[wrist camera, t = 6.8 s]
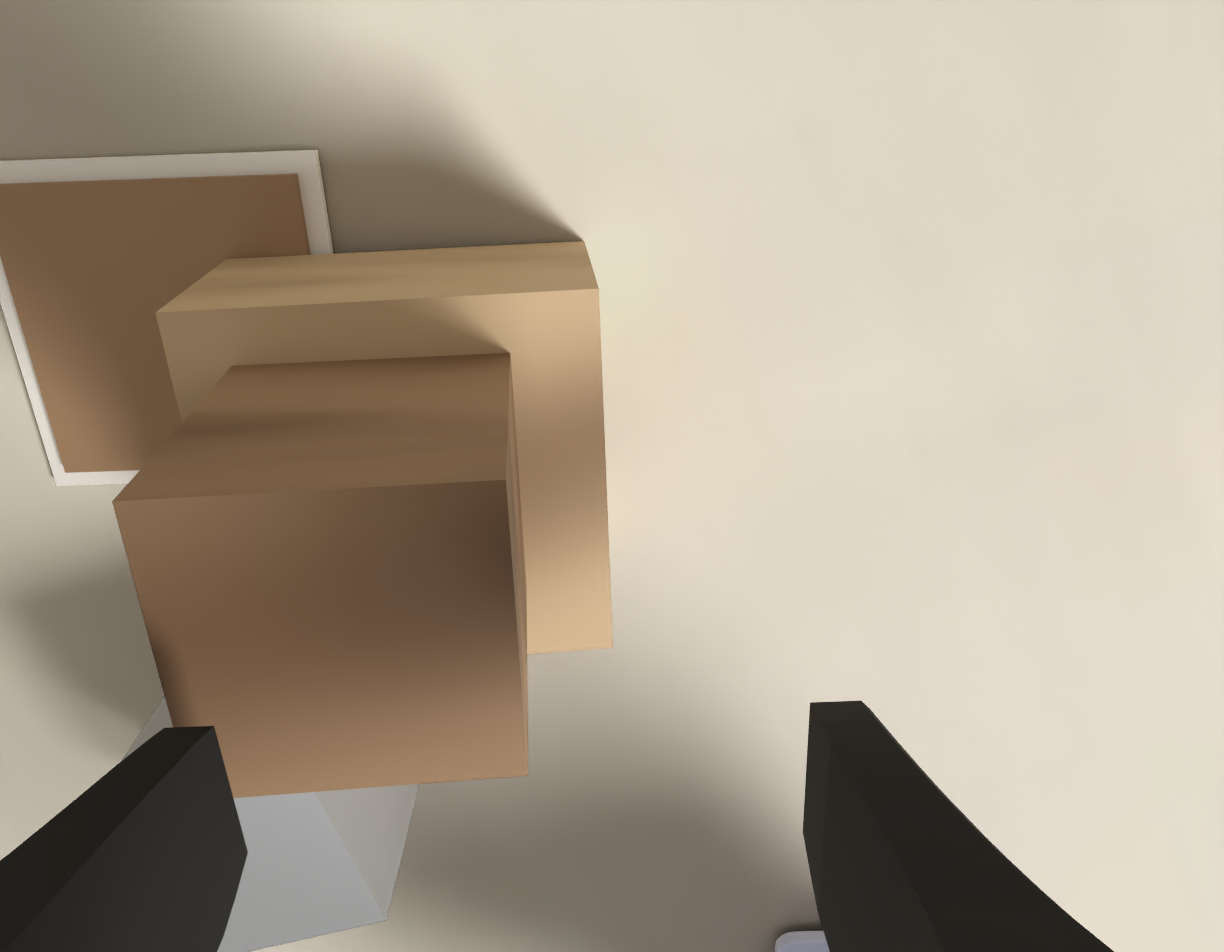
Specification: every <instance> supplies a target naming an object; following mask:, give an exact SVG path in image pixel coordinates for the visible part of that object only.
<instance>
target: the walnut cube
mask: <svg viewBox="0 0 1224 952" xmlns="http://www.w3.org/2000/svg"><path fill="white" fill-rule="evenodd" d="M112 502H113V506H114V509H115V513H116V517H117V521H118V524H119V528H120V532H121V535H122V539H123V543H124V547H125V550H126V554H127V558H128V561H129V565H130V569H131V573H132V576H133V580H134V584H135V588H136V591H137V595H138V599H139V602H140V606H141V610H142V614H143V617H144V621H145V625H146V628H147V632H148V636H149V640H150V643H151V647H152V651H153V654H154V658H155V662H156V666H157V669H158V673H159V677H160V680H161V684H162V688H163V692H164V695H165V699H166V703H167V706H168V710H169V714H170V718H171V721H172V725H173V727H195V726H214V727H215V731H216V735H217V739H218V742H219V746H220V750H221V754H222V757H223V761H224V765H225V768H226V772H227V776H228V780H229V783H230V787H231V791H232V795H233V798H242V797H255V796H268V795H281V794H294V793H307V792H320V791H333V790H346V789H359V788H372V787H385V786H398V785H411V784H424V783H437V782H450V781H463V780H476V779H489V778H502V777H515V776H528V702H527V592H526V573H525V558H524V544H523V529H522V514H521V500H520V485H519V471H518V456H517V442H516V427H515V413H514V398H513V384H512V369H511V355H510V353H495V354H474V355H452V356H431V357H409V358H388V359H366V360H345V361H323V362H302V363H280V364H259V365H237V366H231V367H230V369H229V370H228V371H227V372H226V373H225V374H224V375H223V376H222V378H221V379H220V380H219V381H218V382H217V383H216V384H215V386H214V387H213V388H212V389H211V390H210V391H209V392H208V394H207V395H206V396H205V397H204V398H203V399H202V400H201V401H200V403H199V404H198V405H197V406H196V407H195V408H194V409H193V411H192V412H191V413H190V414H189V415H188V416H187V417H186V418H185V420H184V421H183V422H182V423H181V424H180V425H179V426H178V428H177V429H176V430H175V431H174V432H173V433H172V434H171V436H170V437H169V438H168V439H167V440H166V441H165V442H164V443H163V445H162V446H161V447H160V448H159V449H158V450H157V451H156V453H155V454H154V455H153V456H152V457H151V458H150V459H149V461H148V462H147V463H146V464H145V465H144V466H143V467H142V468H141V470H140V471H139V472H138V473H137V474H136V475H135V476H134V478H133V479H132V480H131V481H130V482H129V483H128V484H127V485H126V487H125V488H124V489H123V490H122V491H121V492H120V493H119V495H118V496H117V497H116V498H115V499H114V500H113V501H112Z"/></svg>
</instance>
